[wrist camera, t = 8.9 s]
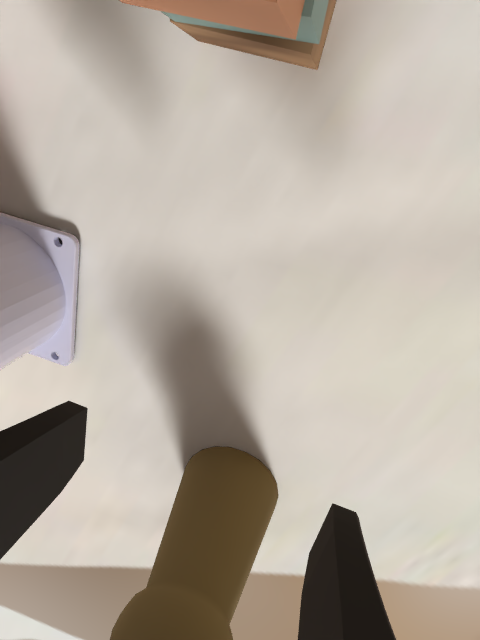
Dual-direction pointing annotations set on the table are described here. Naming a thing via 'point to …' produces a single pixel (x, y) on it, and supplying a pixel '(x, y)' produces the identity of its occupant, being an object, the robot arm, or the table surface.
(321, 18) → the teal slab
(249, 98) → the table surface
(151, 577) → the olive upright rounded piece
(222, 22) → the orange block
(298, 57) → the walnut slab
